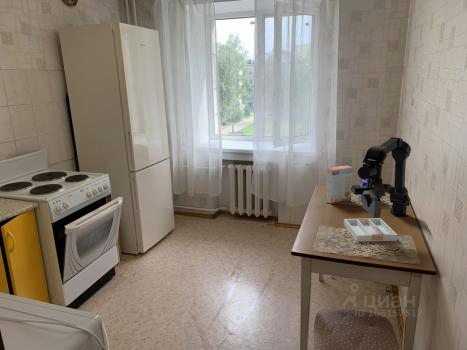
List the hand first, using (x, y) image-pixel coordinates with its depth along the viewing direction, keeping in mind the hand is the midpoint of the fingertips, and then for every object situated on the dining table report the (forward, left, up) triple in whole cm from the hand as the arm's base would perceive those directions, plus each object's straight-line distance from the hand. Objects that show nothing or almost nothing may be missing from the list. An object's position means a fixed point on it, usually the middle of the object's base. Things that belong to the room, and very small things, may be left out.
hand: (371, 206), depth 159 cm
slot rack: (0, 0, -13) cm, 13 cm away
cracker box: (+2, -43, -13) cm, 45 cm away
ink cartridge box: (-16, -43, -13) cm, 48 cm away
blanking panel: (0, 0, -2) cm, 2 cm away
